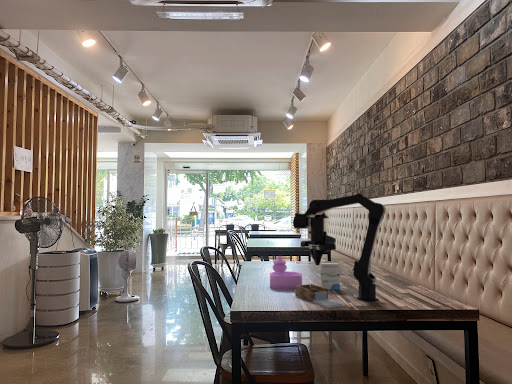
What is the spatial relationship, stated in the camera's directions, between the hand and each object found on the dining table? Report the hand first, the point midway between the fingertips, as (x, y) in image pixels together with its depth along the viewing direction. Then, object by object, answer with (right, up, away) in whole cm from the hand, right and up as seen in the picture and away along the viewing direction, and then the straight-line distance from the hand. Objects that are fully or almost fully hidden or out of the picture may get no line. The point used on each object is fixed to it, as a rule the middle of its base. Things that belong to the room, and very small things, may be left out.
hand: (317, 265), depth 162 cm
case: (-4, -12, -7) cm, 14 cm away
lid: (+1, -12, -17) cm, 21 cm away
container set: (-13, -14, +22) cm, 29 cm away
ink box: (+8, -14, +13) cm, 20 cm away
